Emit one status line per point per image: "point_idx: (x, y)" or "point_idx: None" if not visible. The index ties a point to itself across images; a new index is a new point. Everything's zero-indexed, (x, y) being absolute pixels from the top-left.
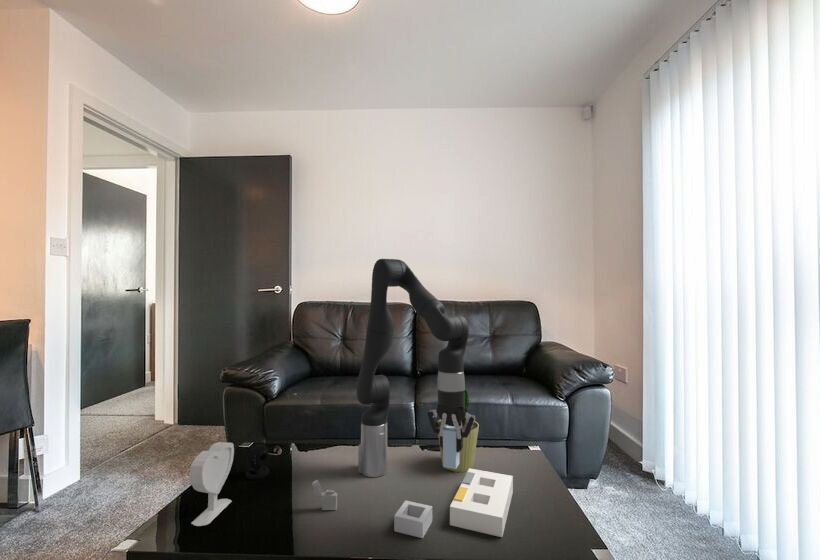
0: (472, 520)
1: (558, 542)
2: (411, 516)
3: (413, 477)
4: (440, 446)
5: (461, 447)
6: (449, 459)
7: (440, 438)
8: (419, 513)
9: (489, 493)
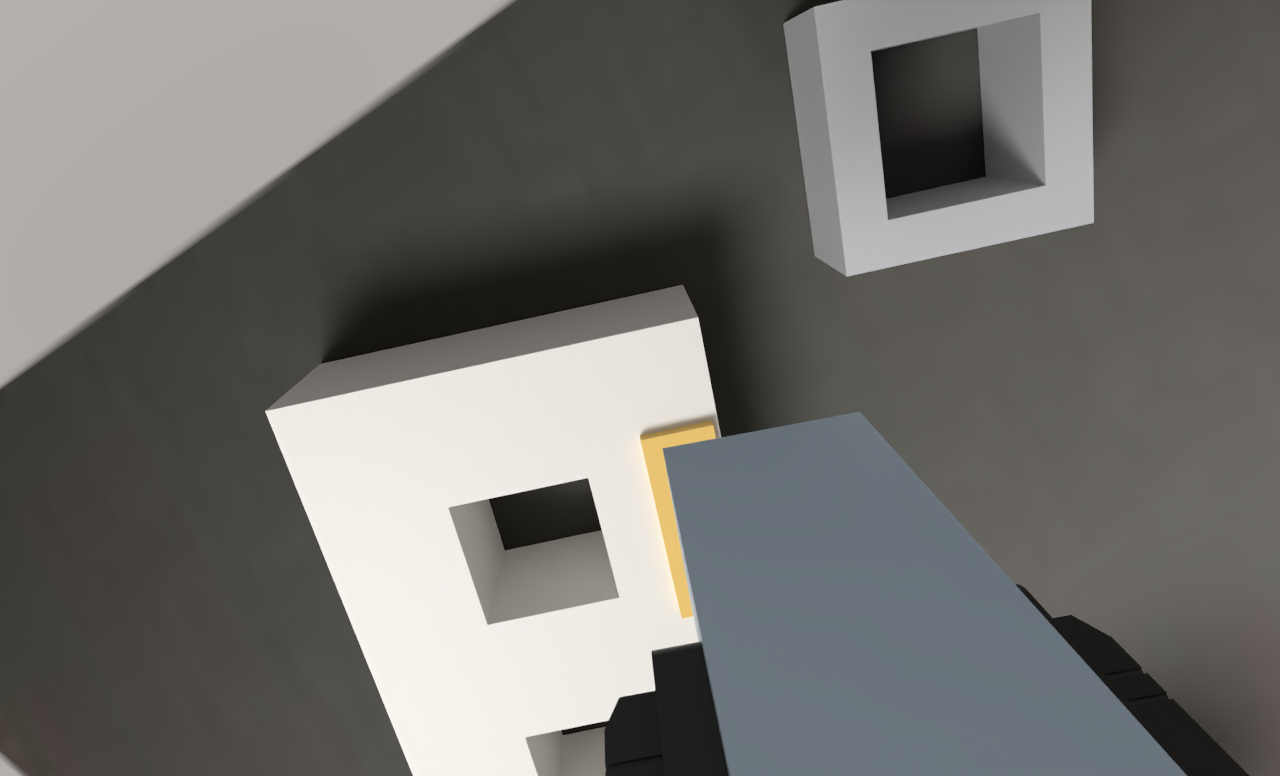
0: (512, 338)
1: (21, 512)
2: (943, 31)
3: (1166, 643)
4: (1083, 623)
5: (608, 751)
6: (788, 488)
7: (1218, 765)
8: (919, 201)
9: (511, 651)
